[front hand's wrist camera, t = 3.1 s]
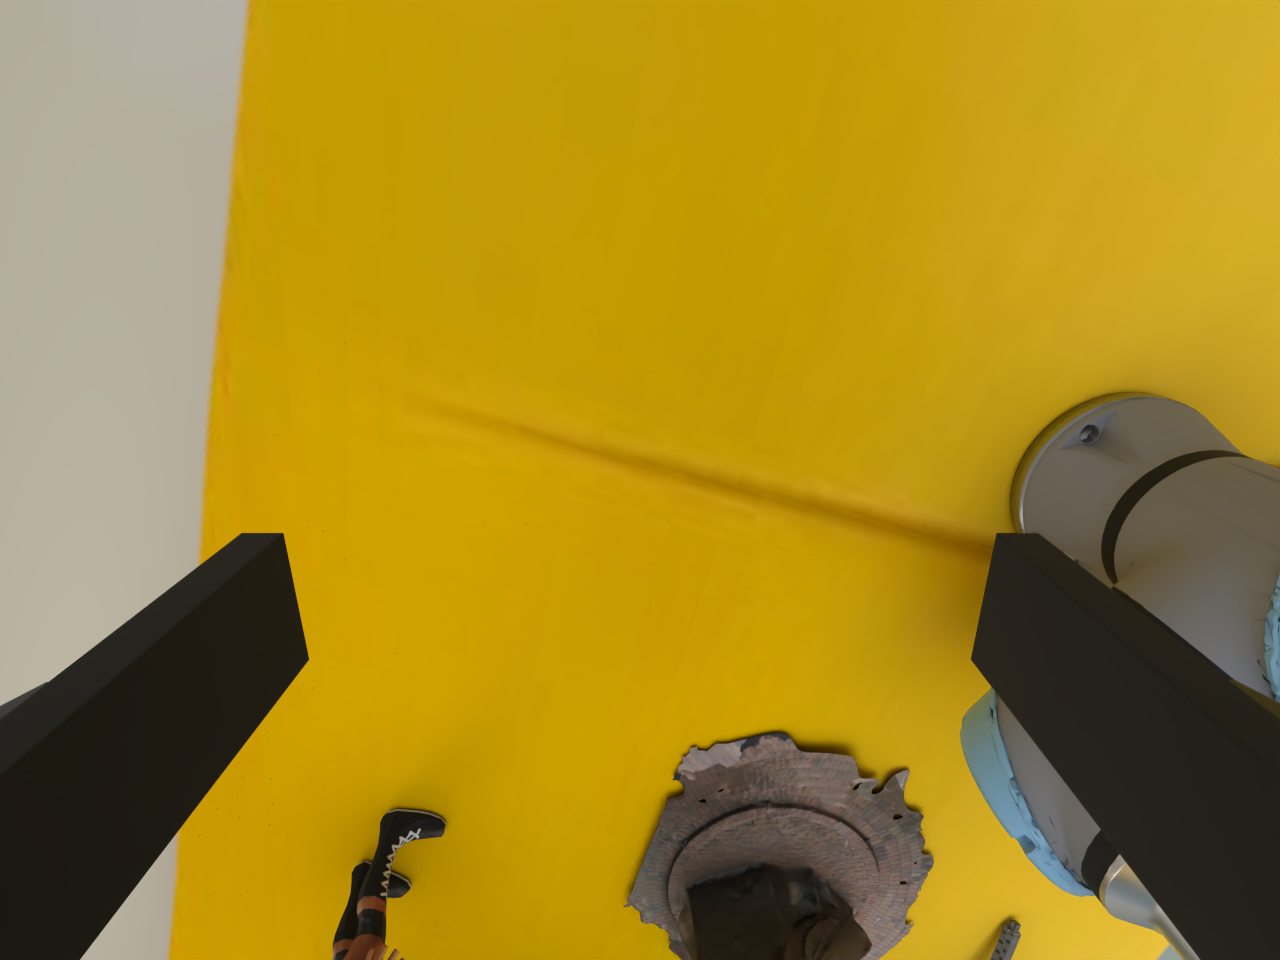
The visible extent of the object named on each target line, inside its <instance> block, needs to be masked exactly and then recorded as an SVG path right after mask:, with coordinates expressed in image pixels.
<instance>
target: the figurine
mask: <svg viewBox="0 0 1280 960" xmlns="http://www.w3.org/2000/svg"><path fill="white" fill-rule="evenodd" d="M445 825H446V822H445V821H444V820H443V819H442V818H441V817H439V816H437V815H435V814H432V813H429V812H424V811H418V810H406V809H394V810H391V811H388V812H387V813H386V814H385V815H384V816H383V818H382V820H381V822H380V835H379V843H378V847H377V850H376V853H375V856H374V859H373V861H372V863H370V862H368V861H366V860H365V861H363V862H361V863H359V864H358V865H357V866H356V867H355V868H354V870H353V872H352V884H351V894H350V897H349V901H348V904H347V907H346V909H345V911H344V913H343V916H342V918H341V920H340V923H339V926H338V928H337V931H336V934H335V937H334V941H333V960H383V956H384V954H385V952H386V950H387V948H388V946H386V945H385V938H386V901H387V897H388V898H398V897H402V896H403V895H404V894H406V893H407V892H408V891H409V890H410V888H411V884H410V882H409V880H407V879H406V878H404V877H402V876H400V875H398V874H396V873H393V872H391V867H392V863H393V860H394V857H395V854H396V851H397V850H398V849H399V848H400V847H401V846H402V845H404V844H405V843H406V842H409V841H413V840H416V839H425V838H434V837H442V835H443V834H444V831H445ZM398 953H399V951H398V950H397V949H394V950H393V952H392V953H391V955H390V957H389V958H388V960H395V959H396V957H397V955H398ZM400 960H404V958H401V959H400Z"/></svg>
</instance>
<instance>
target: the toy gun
mask: <svg viewBox="0 0 1280 960" xmlns="http://www.w3.org/2000/svg"><path fill="white" fill-rule="evenodd" d="M1020 926H1021V925H1020V924H1019V923H1018V922H1017V921H1015V920H1011V921H1010V923H1009V925H1005V926H1004V928H1003V930H1002V933H1001V935H1000V938H999V940H998V942H997V945H996V947H995V950H994V952H993V954H992V957H991V959H990V960H1011V958H1012V955H1013V953H1014V950H1015V948H1016V946H1017V943H1018V941H1019V938H1020V936H1021V934H1020V933H1019V932H1018V931H1019V929H1020Z"/></svg>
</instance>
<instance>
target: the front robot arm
mask: <svg viewBox="0 0 1280 960" xmlns="http://www.w3.org/2000/svg"><path fill="white" fill-rule="evenodd" d="M1010 508H1011V516H1012V521H1013V525H1014V528H1015V530H1016V532H1017V533H997V534H996V539H995V544H994V549H993V554H992V559H991V563H990V568H989V573H988V578H987V583H986V588H985V593H984V598H983V603H982V608H981V613H980V617H979V622H978V627H977V632H976V637H975V642H974V647H973V652H972V657H971V660H972V662H973V663H974V664H975V665H976V667H977V668H978V669H979V671H980V672H981V673H982V675H983V676H984V677H985V679H986V680H987V681H988V683H989V684H990V685H991V686H992V687H991V689H990V690H989V691H988V692H987V693H986V694H985V695H984V696H983V697H981V698H980V699H979V700H978V701H977V702H976V703H975V704H974V705H973V706H972V707H971V708H970V709H969V710H968V711H967V712H966V714H965V716H964V717H963V720H962V728H961V731H960V739H961V745H962V749H963V753H964V756H965V759H966V762H967V764H968V767H969V769H970V772H971V774H972V776H973V778H974V780H975V782H976V784H977V786H978V788H979V789H980V791H981V793H982V795H983V796H984V798H985V800H986V801H987V803H988V805H989V806H990V808H991V809H992V811H993V813H994V814H995V816H996V817H997V819H998V820H999V822H1000V823H1001V825H1002V826H1003V827H1004V829H1005V830H1006V831H1007V833H1008V834H1009V835H1010V836H1011V837H1013V838H1015V839H1016V840H1018V841H1019V844H1020V846H1021V847H1022V849H1023V851H1024V853H1025V855H1026V856H1027V857H1028V858H1029V860H1030V861H1031V862H1032V863H1033V864H1034V865H1035V866H1036V867H1037V869H1038V870H1039V871H1040V872H1041V873H1043V874H1044V875H1045V876H1046V877H1047V878H1048V879H1049V880H1050V881H1051V882H1052V883H1054V884H1055V885H1056V886H1057V887H1059V888H1060V889H1062V890H1064V891H1066V892H1068V893H1070V894H1073V895H1076V896H1081V897H1082V896H1086V895H1088V896H1093V895H1096V897H1097V898H1098V899H1099V901H1100V902H1101V903H1102V905H1103V906H1104V907H1105V909H1106V910H1107V911H1108V912H1109V914H1111V915H1112V916H1114V917H1115V918H1117V919H1120V920H1123V921H1126V922H1129V923H1133V924H1136V925H1139V926H1142V927H1145V928H1149V929H1152V930H1154V931H1156V932H1158V933H1159V934H1161V935H1163V936H1164V937H1165V939H1166V940H1167V941H1168V942H1169V944H1170V945H1171V946H1172V947H1173V949H1174V950H1175V951H1176V952H1177V954H1178V955H1179V956H1180V957H1181V959H1182V960H1280V468H1277V467H1275V466H1272V465H1269V464H1267V463H1264V462H1261V461H1258V460H1255V459H1252V458H1250V457H1247V456H1245V455H1243V454H1242V453H1241V452H1240V451H1239V450H1238V449H1237V448H1236V447H1235V446H1234V445H1233V444H1232V443H1231V442H1230V441H1229V440H1228V439H1227V438H1226V437H1225V436H1224V435H1223V434H1221V433H1220V432H1219V431H1218V430H1217V429H1216V428H1215V427H1214V426H1213V425H1212V424H1211V423H1210V422H1209V421H1208V420H1207V419H1206V418H1205V417H1204V416H1203V415H1202V414H1200V413H1199V412H1198V411H1196V410H1195V409H1193V408H1191V407H1189V406H1187V405H1185V404H1182V403H1180V402H1177V401H1174V400H1171V399H1168V398H1165V397H1162V396H1158V395H1154V394H1149V393H1142V392H1123V393H1116V394H1110V395H1106V396H1102V397H1099V398H1096V399H1093V400H1090V401H1088V402H1085V403H1083V404H1081V405H1079V406H1077V407H1075V408H1073V409H1071V410H1070V411H1068V412H1066V413H1065V414H1063V415H1062V416H1061V417H1059V418H1058V419H1056V420H1055V421H1054V422H1053V423H1052V424H1050V425H1049V426H1048V427H1047V428H1046V429H1045V430H1044V431H1043V432H1042V433H1041V434H1040V435H1039V436H1038V437H1037V439H1036V440H1035V441H1034V442H1033V443H1032V445H1031V446H1030V448H1029V449H1028V450H1027V452H1026V453H1025V455H1024V457H1023V459H1022V460H1021V462H1020V465H1019V467H1018V469H1017V472H1016V474H1015V477H1014V481H1013V485H1012V489H1011V497H1010ZM308 660H309V657H308V652H307V647H306V642H305V637H304V632H303V627H302V622H301V617H300V613H299V608H298V603H297V598H296V593H295V588H294V583H293V578H292V573H291V568H290V563H289V559H288V554H287V549H286V544H285V539H284V534H283V533H241V534H240V535H239V536H237V537H236V538H235V539H233V540H232V541H231V542H230V543H228V544H227V545H226V546H224V547H223V548H222V549H221V550H219V551H218V552H217V553H215V554H214V555H213V556H211V557H210V558H209V559H208V560H206V561H205V562H204V563H202V564H201V565H200V566H198V567H197V568H196V569H195V570H193V571H192V572H191V573H189V574H188V575H187V576H186V577H184V578H183V579H182V580H180V581H179V582H178V583H176V584H175V585H174V586H173V587H171V588H170V589H169V590H167V591H166V592H165V593H163V594H162V595H161V596H160V597H158V598H157V599H156V600H154V601H153V602H152V603H150V604H149V605H148V606H147V607H145V608H144V609H143V610H141V611H140V612H139V613H137V614H136V615H135V616H134V617H132V618H131V619H130V620H128V621H127V622H126V623H125V624H123V625H122V626H121V627H119V628H118V629H117V630H116V631H114V632H113V633H112V634H110V635H109V636H108V637H106V638H105V639H104V640H102V641H101V642H100V643H99V644H97V645H96V646H95V647H93V648H92V649H91V650H89V651H88V652H87V653H86V654H84V655H83V656H82V657H80V658H79V659H78V660H77V661H75V662H74V663H73V664H71V665H70V666H69V667H68V668H66V669H65V670H64V671H62V672H61V673H60V674H58V675H57V676H56V677H55V678H53V679H52V680H51V681H49V682H46V683H44V684H42V685H40V686H38V687H36V688H34V689H32V690H30V691H28V692H26V693H25V694H23V695H21V696H19V697H17V698H15V699H13V700H11V701H9V702H7V703H5V704H3V705H1V706H0V960H80V959H81V957H82V956H83V955H84V954H85V952H86V951H87V950H88V948H89V947H90V946H91V944H92V943H93V942H94V940H95V939H96V938H97V937H98V935H99V934H100V933H101V931H102V930H103V929H104V927H105V926H106V925H107V923H108V922H109V921H110V919H111V918H112V917H113V916H114V914H115V913H116V912H117V910H118V909H119V908H120V906H121V905H122V904H123V902H124V901H125V900H126V899H127V897H128V896H129V895H130V893H131V892H132V891H133V889H134V888H135V887H136V886H137V884H138V883H139V882H140V880H141V879H142V878H143V876H144V875H145V874H146V872H147V871H148V870H149V868H150V867H151V866H152V865H153V863H154V862H155V861H156V859H157V858H158V857H159V855H160V854H161V853H162V851H163V850H164V849H165V848H166V846H167V845H168V843H169V842H170V841H171V840H172V838H173V837H174V836H175V834H176V833H177V832H178V830H179V829H180V828H181V827H182V825H183V824H184V823H185V821H186V820H187V819H188V817H189V816H190V815H191V813H192V812H193V811H194V810H195V808H196V807H197V806H198V804H199V803H200V802H201V800H202V799H203V798H204V796H205V795H206V794H207V793H208V791H209V790H210V789H211V787H212V786H213V785H214V783H215V782H216V781H217V779H218V778H219V777H220V775H221V774H222V773H223V772H224V770H225V769H226V768H227V766H228V765H229V764H230V762H231V761H232V760H233V758H234V757H235V756H236V755H237V753H238V752H239V751H240V749H241V748H242V747H243V745H244V744H245V743H246V741H247V740H248V739H249V738H250V736H251V735H252V734H253V732H254V731H255V730H256V728H257V727H258V726H259V724H260V723H261V722H262V720H263V719H264V718H265V717H266V715H267V714H268V713H269V711H270V710H271V709H272V707H273V706H274V705H275V703H276V702H277V701H278V700H279V698H280V697H281V696H282V694H283V693H284V692H285V690H286V689H287V688H288V686H289V685H290V684H291V683H292V681H293V680H294V679H295V677H296V676H297V675H298V673H299V672H300V671H301V669H302V668H303V667H304V665H305V664H306V663H307V662H308Z"/></svg>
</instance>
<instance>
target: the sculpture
mask: <svg viewBox="0 0 1280 960" xmlns="http://www.w3.org/2000/svg"><path fill="white" fill-rule="evenodd" d="M689 751H690V752H689V753H688V755H687V756H686V757H684V756H682V758H683V760H682V761H683V763H682V764H681V765H679V768H678V772H677V773H675V775H674V779H673V780H678V781H680V782H681V784H682V785H683V787H684V794H683V795H681V796H677V797H672V798H667V799H666V800H667V801H668V802H666V803H667V805H666V808H664V811H663V813H662V816H661V820H660V822H659V824H658V825H659V826H658V827H657V828H656V831H655V833H656V834H654V836H653V839H652V841H651V844H650V846H649V848H648V850H647V853H646V856H645V857H644V860H643V863H644V865H641V868H640V869H639V873H638V875H637V879H636V881H635V883H634V884H635V886H634V888H633V890H632V892H631V893H630V895H629V897H628V899H627V902H628V904H626V906H625V905H624V906H623V907H629V906H631V905H632V906H633V907H634V908H635V909H636V910H638V911H639V912H640V919H641V921H642V922H643V923H646V924H649V923H653V924H656V925H657V926H658V927H659V928H661V929H665V930H666V931H667V932H668V933H669V939H670V941H671V942H670V945H669V949H671V951H672V952H674V953H675V954H676V955H678V956H679V957H680V958H681V959H682V960H878V958H879V959H880V957H882V956H883V955H884V954H885V953H887V952H888V951H889V950H890V949H891V948H892V947H894V946H895V945H897V944H898V943H899V941H901V940H902V938H903V937H905V936H906V935H907V934H909V931H910V928H911V927H912V926H913V924H914V923H913V924H909V925H906V924H905V920H906V914H907V910H908V908H909V907H910V906H911V905H912V904H913V903H914V902H915V901H916V898H917V897H918V895H917V892H918V891H920V890H921V885H922V884H923V882H924V880H925V879H926V877H927V876H928V874H927V873H928V872H929V871H930V870H931V869H930V868H932V866H933V863H934V861H933V858H932V856H931V855H924V854H923V853H922V852H921V851H922V849H923V847H924V844H925V840H924V838H923V836H922V835H921V834H920V833H919V832H918V831H920V830H922V829H921V827H920V823H921V821H922V819H923V817H924V816H923V815H922V814H921V813H918V812H912V811H910V810H909V809H908V808H907V807H906V805H905V802H904V787H905V784H906V781H907V778H908V775H909V770H905V771H902V772H900V773H898V774H896V775H894V776H893V777H891V779H890V780H889V781H888V782H887V784H886V785H885V786H884V789H883V790H882V791H881V792H880V793H878V794H872V793H871V791H872V789H873V788H874V787H876V786H877V785H878V784H879V781H878V780H877V779H874V778H869V779H864V778H861V777H859V775H858V769H857V765H856V761H855V759H854V758H853V757H851V756H847V755H839V754H831V753H809V752H803V751H800V750H798V749H797V748H796V746H795V745H794V743H793V741H792V740H791V738H790V737H789V736H788V735H786V734H783V733H773V734H767V735H762V736H757V737H753V738H749V739H745V740H741V741H737V742H733V743H728V744H715V745H714V746H713V747H712V748H710V749H709V750H708V751H701V750H698V749H697V747H694V748H691V749H690V750H689ZM873 781H874V782H873ZM860 782H862V784H860V785H859V788H858V789H857V790H853V788H854V786H855V785H857V784H858V783H860ZM720 789H724V790H723V791H722V792H718V791H719V790H720ZM702 799H705V800H706V803H701V802H699V800H702ZM895 814H900V815H902V816H903V818H901V819H898V820H894V819H893V816H894V815H895ZM914 862H917V864H914ZM901 881H906V882H907V884H904V885H901V884H900V882H901ZM643 908H644V909H643ZM647 917H650V918H647Z"/></svg>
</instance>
